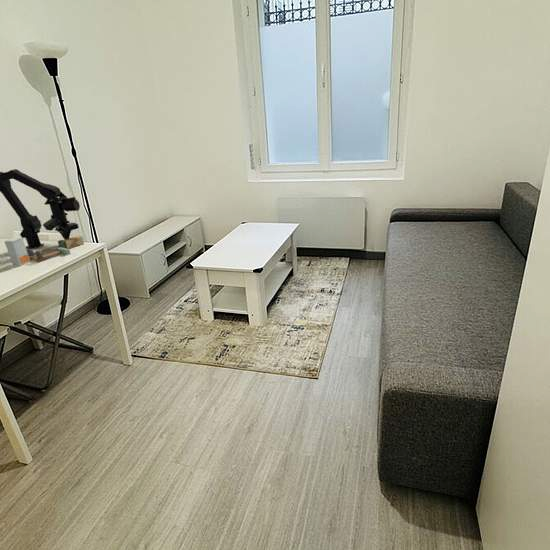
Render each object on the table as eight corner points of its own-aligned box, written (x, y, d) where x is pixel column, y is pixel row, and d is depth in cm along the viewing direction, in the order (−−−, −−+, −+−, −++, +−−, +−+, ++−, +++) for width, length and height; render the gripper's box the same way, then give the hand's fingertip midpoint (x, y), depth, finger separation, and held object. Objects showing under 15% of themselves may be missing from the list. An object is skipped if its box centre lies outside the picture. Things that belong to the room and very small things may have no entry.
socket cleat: (59, 253, 188) (57, 248, 187) (62, 252, 190) (60, 247, 189) (67, 255, 185) (65, 250, 184) (70, 253, 186) (69, 249, 185)
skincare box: (20, 266, 175) (11, 241, 170) (12, 266, 176) (3, 241, 171) (30, 261, 181) (22, 236, 176) (23, 261, 182) (14, 236, 177)
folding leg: (62, 251, 191) (60, 242, 189) (58, 250, 192) (55, 241, 191) (84, 243, 200) (81, 235, 198) (80, 242, 201) (77, 234, 200)
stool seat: (27, 259, 184) (24, 250, 182) (54, 249, 194) (51, 241, 192) (39, 262, 178) (36, 253, 177) (66, 252, 189) (64, 243, 187)
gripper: (32, 214, 193) (42, 244, 200) (53, 217, 184) (63, 248, 190) (53, 209, 202) (62, 237, 208) (74, 212, 193) (83, 241, 199)
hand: (67, 241), depth 201 cm, fingers closed
